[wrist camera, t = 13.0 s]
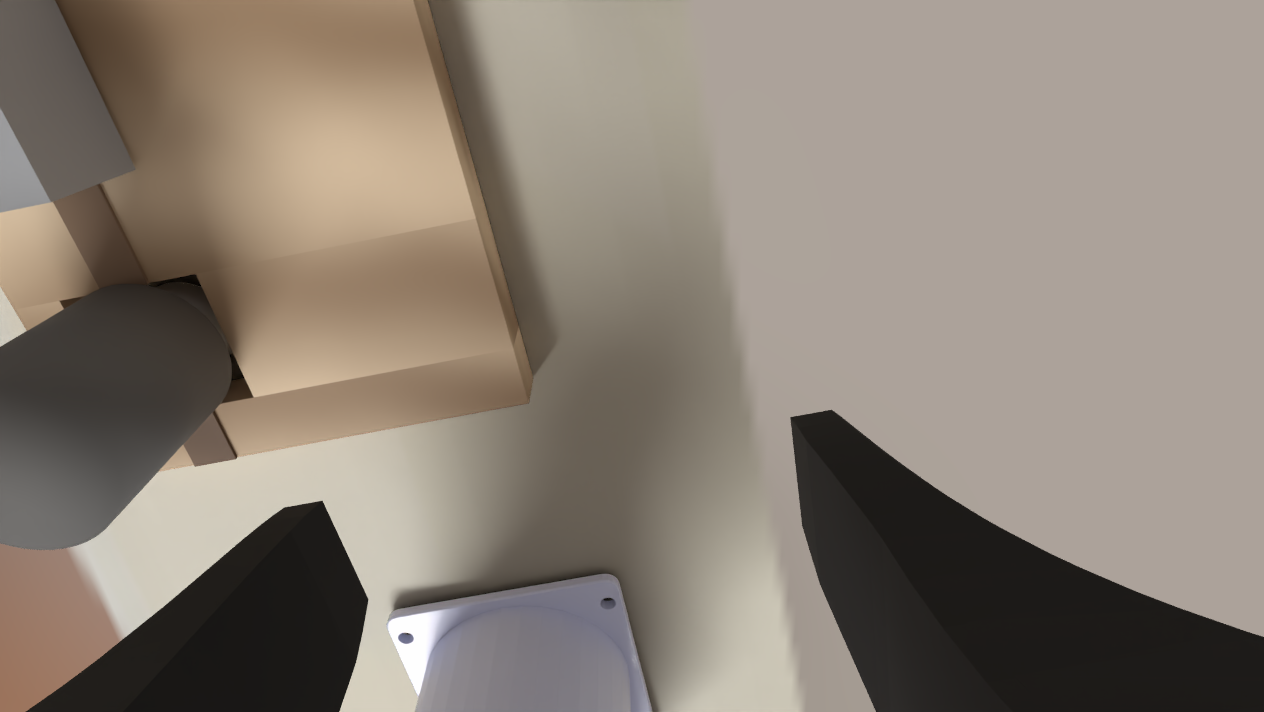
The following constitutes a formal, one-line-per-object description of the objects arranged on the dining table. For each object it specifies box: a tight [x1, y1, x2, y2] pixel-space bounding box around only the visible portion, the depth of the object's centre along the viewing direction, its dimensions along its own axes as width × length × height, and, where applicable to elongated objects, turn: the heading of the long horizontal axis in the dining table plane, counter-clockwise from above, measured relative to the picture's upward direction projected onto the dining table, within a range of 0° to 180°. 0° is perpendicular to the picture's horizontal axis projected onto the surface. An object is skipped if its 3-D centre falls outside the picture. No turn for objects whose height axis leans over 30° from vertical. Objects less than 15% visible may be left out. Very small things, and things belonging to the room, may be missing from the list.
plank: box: [0, 0, 533, 472], centre depth 18 cm, size 15×12×2 cm
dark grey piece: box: [0, 282, 232, 550], centre depth 18 cm, size 4×4×7 cm
